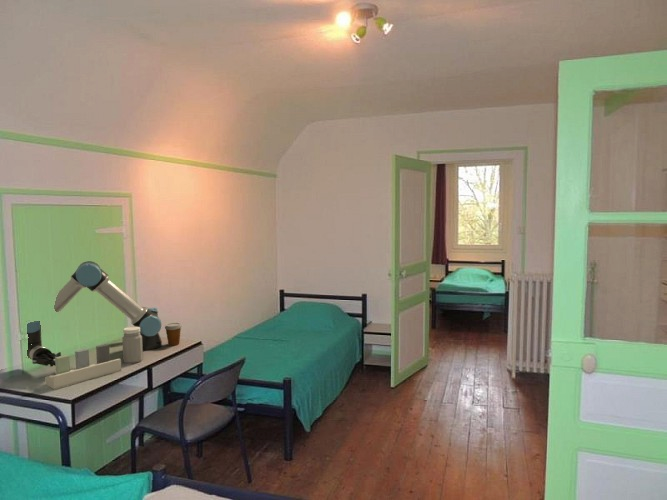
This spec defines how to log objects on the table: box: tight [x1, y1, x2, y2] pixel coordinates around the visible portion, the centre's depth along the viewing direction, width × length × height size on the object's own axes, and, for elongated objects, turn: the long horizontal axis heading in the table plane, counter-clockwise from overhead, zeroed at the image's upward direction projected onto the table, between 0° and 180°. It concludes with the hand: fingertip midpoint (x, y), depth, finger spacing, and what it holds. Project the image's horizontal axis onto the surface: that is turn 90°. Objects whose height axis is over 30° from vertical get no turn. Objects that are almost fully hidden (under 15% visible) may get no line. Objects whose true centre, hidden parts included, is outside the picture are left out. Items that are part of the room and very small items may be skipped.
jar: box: [121, 326, 144, 365], centre depth 250 cm, size 10×10×18 cm
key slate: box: [74, 348, 90, 370], centre depth 228 cm, size 3×5×12 cm, turn 142°
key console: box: [44, 358, 122, 390], centre depth 227 cm, size 10×31×6 cm, turn 142°
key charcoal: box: [95, 343, 111, 364], centre depth 235 cm, size 3×5×12 cm, turn 142°
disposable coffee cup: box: [164, 322, 182, 346], centre depth 282 cm, size 10×10×12 cm
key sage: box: [54, 354, 71, 375], centre depth 218 cm, size 3×5×12 cm, turn 142°
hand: (60, 364), depth 219 cm, fingers closed
